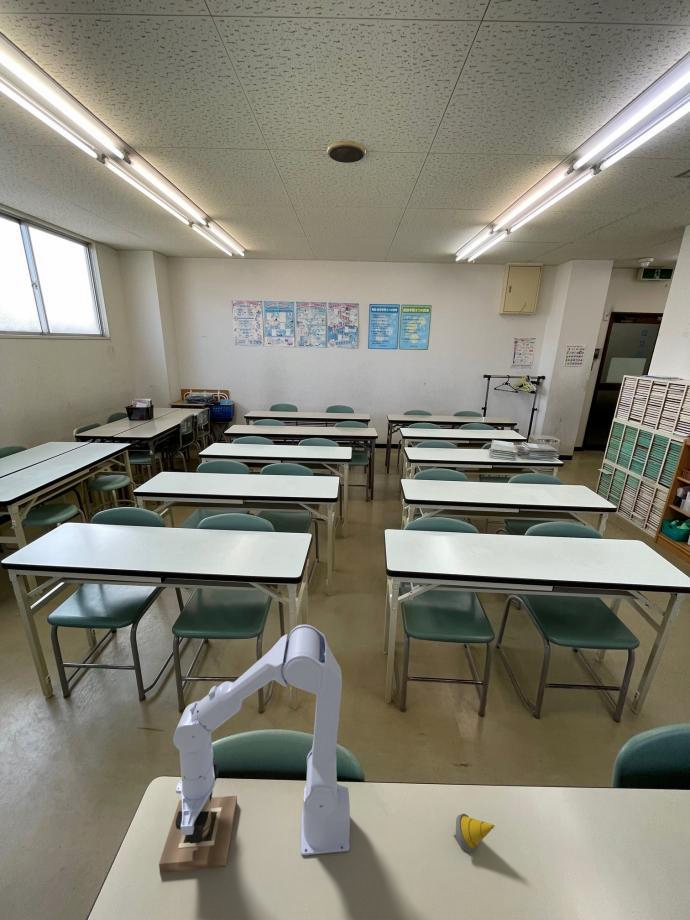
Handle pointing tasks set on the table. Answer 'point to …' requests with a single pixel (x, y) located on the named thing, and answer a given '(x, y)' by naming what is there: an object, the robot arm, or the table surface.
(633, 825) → the table surface
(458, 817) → the yellow striped cone
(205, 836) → the peg
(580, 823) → the table surface
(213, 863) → the board
